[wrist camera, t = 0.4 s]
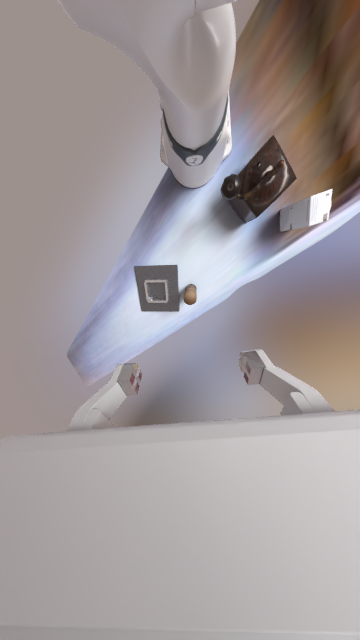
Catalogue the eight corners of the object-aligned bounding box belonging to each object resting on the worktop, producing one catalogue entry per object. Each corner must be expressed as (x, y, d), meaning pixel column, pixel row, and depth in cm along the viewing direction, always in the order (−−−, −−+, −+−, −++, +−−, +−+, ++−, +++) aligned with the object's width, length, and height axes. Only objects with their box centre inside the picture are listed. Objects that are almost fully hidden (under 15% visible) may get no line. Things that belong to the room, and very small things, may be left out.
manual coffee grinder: (254, 155, 37) (300, 82, 21) (277, 192, 40) (333, 153, 24) (209, 209, 43) (217, 184, 27) (231, 238, 45) (251, 231, 29)
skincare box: (279, 209, 41) (309, 195, 30) (296, 203, 40) (333, 186, 29) (279, 233, 44) (307, 227, 33) (295, 227, 43) (329, 219, 32)
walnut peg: (185, 284, 54) (183, 292, 43) (196, 284, 53) (196, 292, 42) (186, 294, 55) (183, 304, 45) (196, 294, 55) (196, 304, 44)
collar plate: (135, 266, 52) (131, 266, 49) (177, 264, 51) (176, 265, 48) (142, 310, 60) (139, 313, 57) (179, 310, 59) (178, 313, 56)
